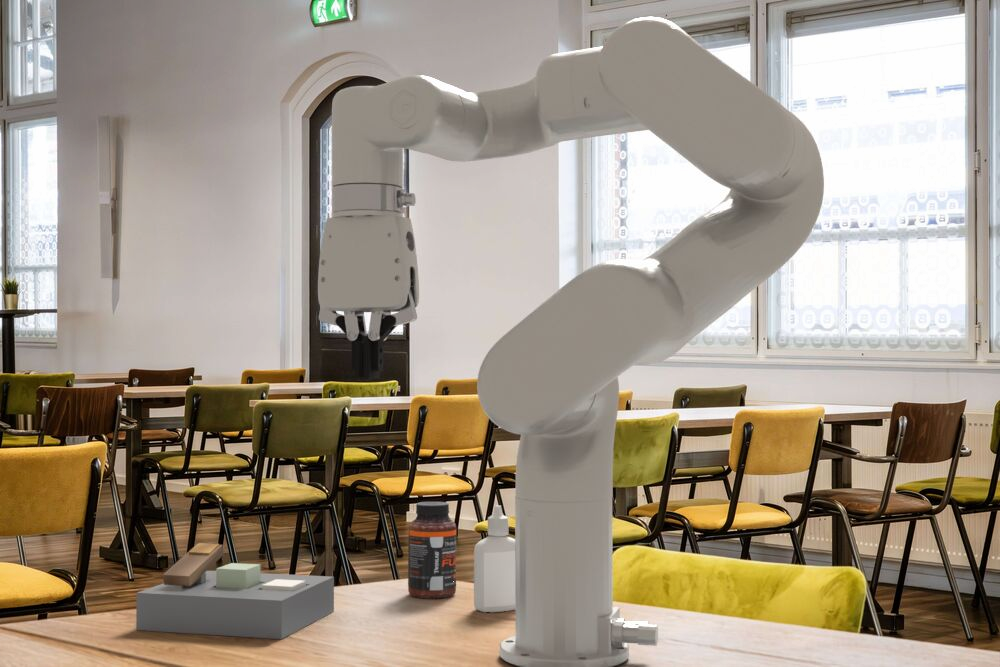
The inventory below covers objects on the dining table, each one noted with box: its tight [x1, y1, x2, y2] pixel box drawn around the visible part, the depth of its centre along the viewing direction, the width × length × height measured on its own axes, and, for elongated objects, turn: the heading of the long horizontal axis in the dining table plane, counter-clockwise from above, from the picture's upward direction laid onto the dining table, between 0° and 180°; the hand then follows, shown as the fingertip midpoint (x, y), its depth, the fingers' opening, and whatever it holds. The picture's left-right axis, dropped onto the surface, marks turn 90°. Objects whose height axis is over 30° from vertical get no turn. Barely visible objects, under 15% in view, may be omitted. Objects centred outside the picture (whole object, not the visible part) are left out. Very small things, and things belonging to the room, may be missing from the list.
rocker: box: [162, 542, 225, 586], centre depth 137 cm, size 3×8×1 cm, turn 165°
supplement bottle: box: [407, 501, 457, 600], centre depth 150 cm, size 6×6×11 cm
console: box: [135, 570, 335, 640], centre depth 136 cm, size 17×14×5 cm
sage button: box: [215, 562, 262, 589], centre depth 136 cm, size 4×4×3 cm
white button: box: [262, 579, 306, 592], centre depth 134 cm, size 4×4×3 cm
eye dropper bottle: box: [473, 504, 515, 613], centre depth 141 cm, size 4×6×12 cm
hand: (367, 378), depth 129 cm, fingers closed
